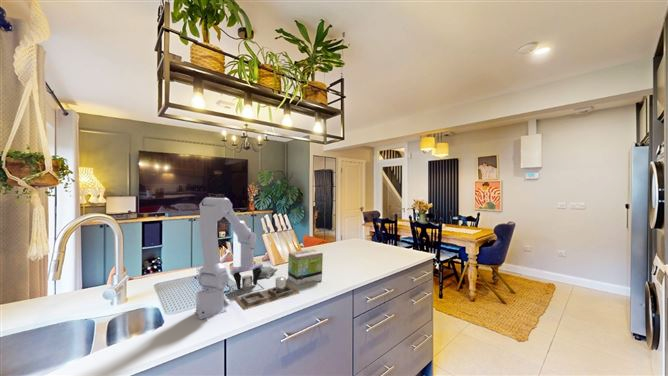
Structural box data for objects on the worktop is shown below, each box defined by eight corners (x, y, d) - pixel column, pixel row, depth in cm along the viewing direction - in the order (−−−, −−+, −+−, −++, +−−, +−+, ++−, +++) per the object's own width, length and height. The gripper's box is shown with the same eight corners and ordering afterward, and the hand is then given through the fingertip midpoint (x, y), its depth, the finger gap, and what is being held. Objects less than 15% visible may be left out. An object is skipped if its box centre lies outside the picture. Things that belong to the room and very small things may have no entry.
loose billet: (243, 292, 115) (243, 279, 114) (240, 289, 118) (240, 276, 118) (253, 290, 117) (253, 277, 117) (249, 287, 121) (249, 274, 121)
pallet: (243, 313, 97) (243, 306, 97) (233, 302, 106) (233, 295, 106) (300, 296, 112) (300, 290, 112) (287, 287, 122) (287, 282, 122)
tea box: (297, 287, 122) (297, 257, 122) (287, 281, 130) (287, 252, 129) (322, 280, 131) (323, 252, 131) (311, 275, 139) (312, 248, 139)
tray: (238, 298, 109) (238, 295, 109) (229, 289, 119) (229, 286, 119) (264, 291, 117) (264, 288, 117) (254, 283, 126) (254, 280, 126)
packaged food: (277, 273, 141) (277, 265, 141) (269, 281, 129) (269, 272, 129) (262, 273, 142) (262, 264, 142) (253, 281, 130) (252, 271, 130)
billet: (278, 295, 110) (278, 281, 110) (273, 291, 113) (273, 278, 113) (287, 292, 113) (287, 279, 113) (282, 289, 116) (282, 276, 116)
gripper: (234, 262, 110) (234, 293, 110) (265, 256, 119) (265, 285, 119) (228, 258, 115) (228, 288, 115) (259, 253, 125) (258, 280, 125)
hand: (247, 286), depth 118 cm, fingers open, 7 cm apart
